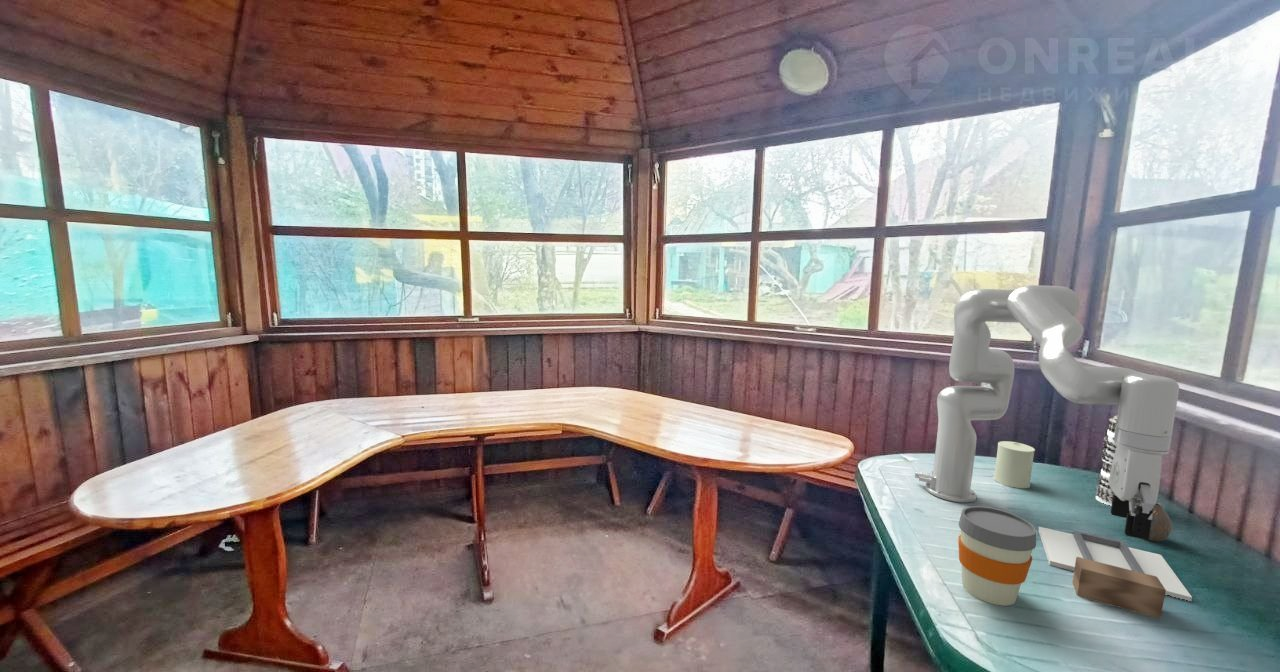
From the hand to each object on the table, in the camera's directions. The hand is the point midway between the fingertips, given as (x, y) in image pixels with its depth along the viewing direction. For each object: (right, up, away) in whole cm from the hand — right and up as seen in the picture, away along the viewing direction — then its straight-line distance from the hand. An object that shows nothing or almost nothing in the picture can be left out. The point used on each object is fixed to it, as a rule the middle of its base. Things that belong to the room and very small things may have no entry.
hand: (1128, 526), depth 97 cm
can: (+20, -9, +58) cm, 63 cm away
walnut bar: (0, -16, +2) cm, 16 cm away
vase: (+31, -13, +27) cm, 44 cm away
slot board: (+10, -14, +16) cm, 23 cm away
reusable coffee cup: (-24, -15, +4) cm, 29 cm away
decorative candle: (+41, -11, +46) cm, 62 cm away
